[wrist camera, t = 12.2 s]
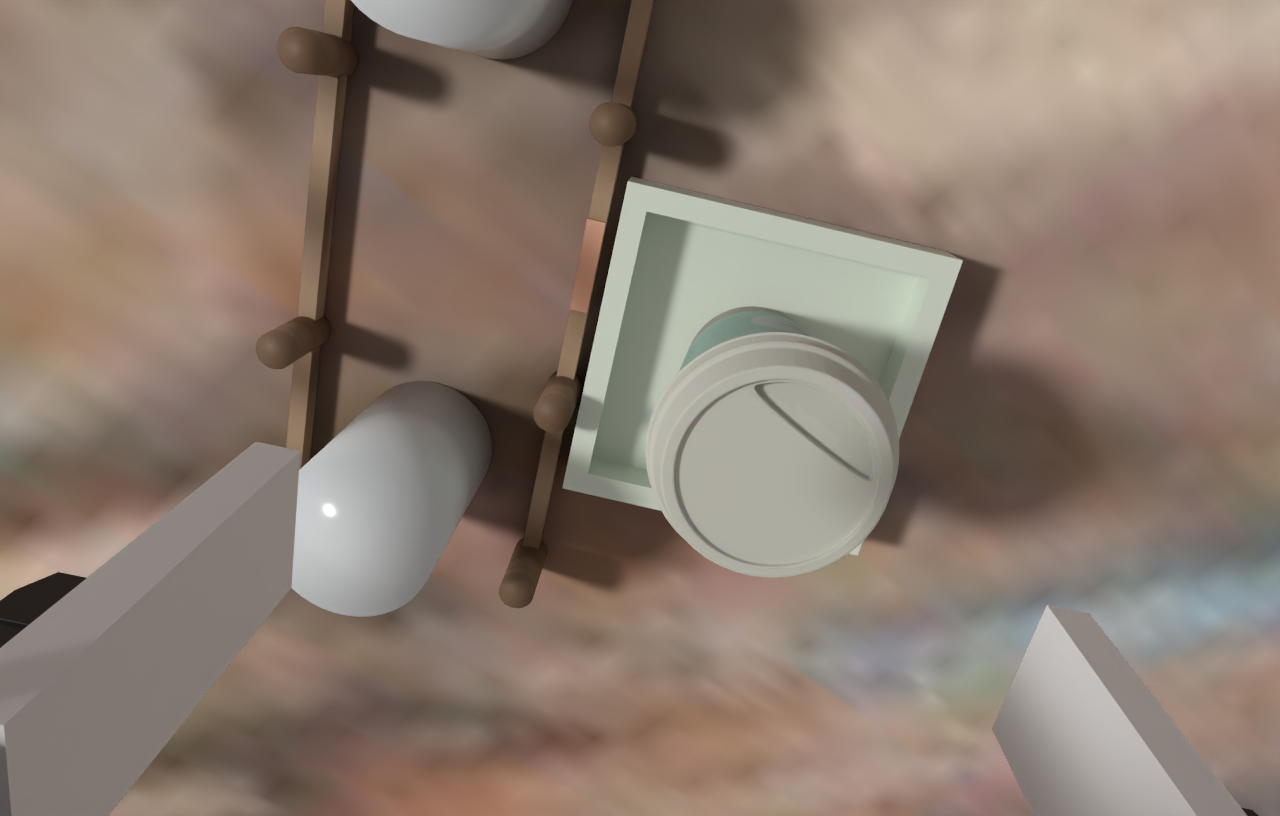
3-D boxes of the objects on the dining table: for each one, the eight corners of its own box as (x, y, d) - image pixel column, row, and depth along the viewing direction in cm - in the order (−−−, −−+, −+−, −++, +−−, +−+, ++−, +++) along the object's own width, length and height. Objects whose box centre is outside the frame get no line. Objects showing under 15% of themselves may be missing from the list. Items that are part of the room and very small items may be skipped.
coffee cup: (864, 425, 39) (938, 554, 28) (688, 476, 40) (689, 620, 29) (816, 248, 36) (876, 311, 25) (629, 309, 38) (606, 395, 26)
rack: (344, -221, 32) (299, -266, 28) (692, -135, 32) (693, -168, 28) (281, 508, 43) (241, 546, 39) (543, 567, 43) (530, 611, 39)
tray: (631, 176, 36) (627, 180, 34) (945, 250, 37) (963, 260, 34) (569, 466, 41) (562, 488, 39) (847, 530, 41) (857, 555, 39)
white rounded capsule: (370, 367, 40) (271, 447, 30) (502, 397, 40) (445, 486, 30) (355, 487, 42) (259, 596, 32) (481, 515, 42) (421, 632, 33)
